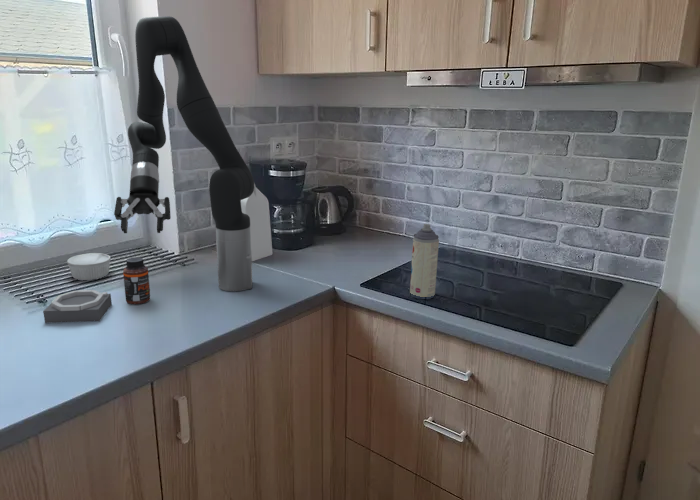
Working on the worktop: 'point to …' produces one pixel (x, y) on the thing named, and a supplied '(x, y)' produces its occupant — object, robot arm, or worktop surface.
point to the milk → (258, 224)
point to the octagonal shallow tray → (78, 307)
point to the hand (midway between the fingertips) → (142, 231)
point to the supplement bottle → (136, 281)
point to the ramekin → (89, 266)
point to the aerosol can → (424, 262)
